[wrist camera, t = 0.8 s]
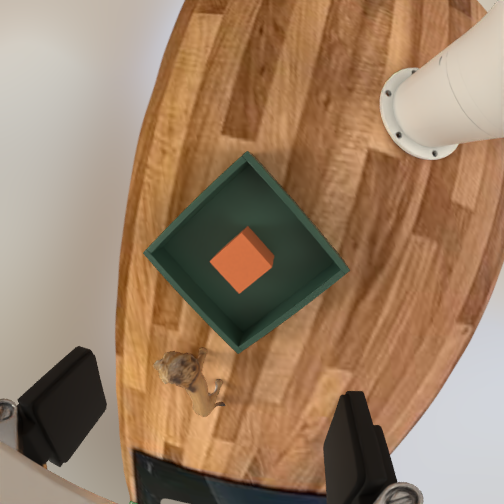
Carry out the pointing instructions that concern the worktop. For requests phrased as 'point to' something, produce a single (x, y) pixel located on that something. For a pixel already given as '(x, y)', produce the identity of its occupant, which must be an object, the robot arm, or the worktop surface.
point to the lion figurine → (189, 379)
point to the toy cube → (243, 260)
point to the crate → (227, 228)
